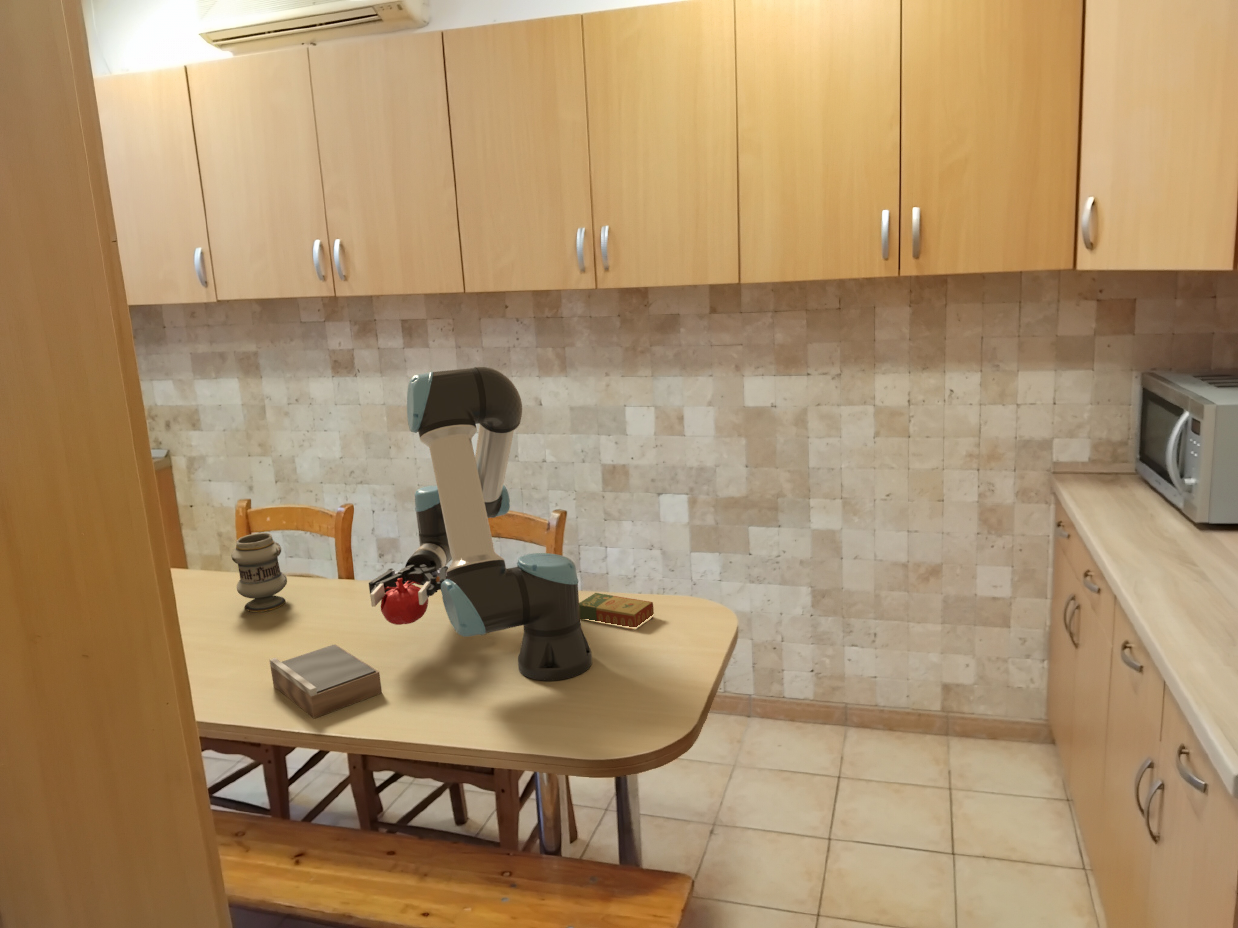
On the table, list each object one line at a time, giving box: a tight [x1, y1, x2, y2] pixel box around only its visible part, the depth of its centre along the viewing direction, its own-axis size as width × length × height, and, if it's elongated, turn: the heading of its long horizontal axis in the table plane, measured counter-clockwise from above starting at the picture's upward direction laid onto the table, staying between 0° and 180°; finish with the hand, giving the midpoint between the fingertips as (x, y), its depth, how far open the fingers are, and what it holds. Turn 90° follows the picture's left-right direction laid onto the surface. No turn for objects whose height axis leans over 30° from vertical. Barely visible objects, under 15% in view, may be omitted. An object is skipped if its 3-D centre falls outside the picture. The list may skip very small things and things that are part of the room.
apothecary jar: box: [230, 532, 288, 613], centre depth 238 cm, size 12×12×18 cm
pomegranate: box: [380, 578, 429, 626], centre depth 199 cm, size 10×10×9 cm
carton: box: [579, 592, 655, 627], centre depth 217 cm, size 8×16×4 cm, turn 57°
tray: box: [269, 644, 383, 719], centre depth 189 cm, size 20×14×6 cm
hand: (396, 599), depth 194 cm, fingers closed on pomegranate, 9 cm apart
